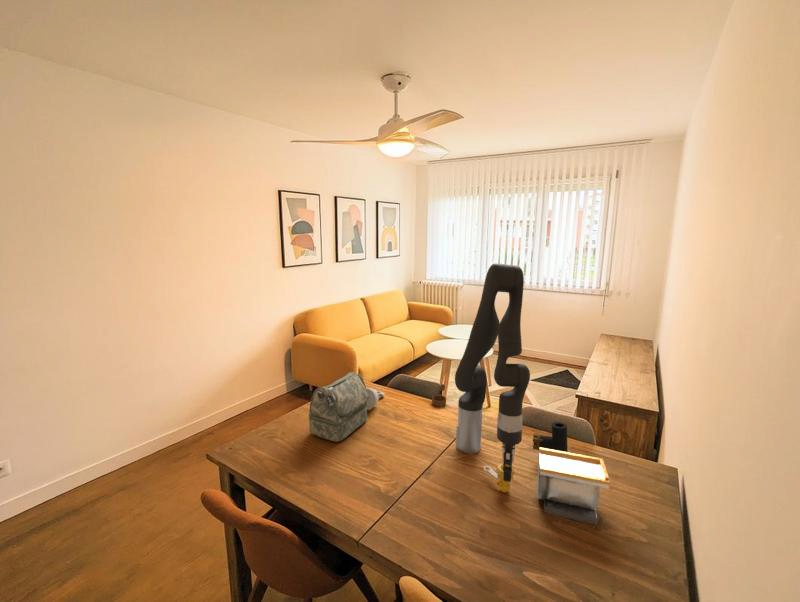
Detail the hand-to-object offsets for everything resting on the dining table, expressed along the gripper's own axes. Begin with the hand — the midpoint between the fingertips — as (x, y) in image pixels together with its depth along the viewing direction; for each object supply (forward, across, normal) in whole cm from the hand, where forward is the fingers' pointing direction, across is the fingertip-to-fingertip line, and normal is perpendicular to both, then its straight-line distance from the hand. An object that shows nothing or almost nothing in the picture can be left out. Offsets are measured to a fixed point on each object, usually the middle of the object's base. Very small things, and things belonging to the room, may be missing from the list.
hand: (507, 472), depth 118 cm
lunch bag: (+5, -20, -71) cm, 73 cm away
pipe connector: (+7, -22, +15) cm, 27 cm away
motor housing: (+7, 0, +18) cm, 19 cm away
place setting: (+6, -59, -33) cm, 68 cm away
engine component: (+6, -45, -67) cm, 81 cm away
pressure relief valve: (+7, -2, -3) cm, 8 cm away
